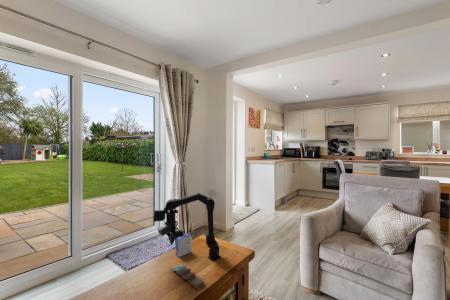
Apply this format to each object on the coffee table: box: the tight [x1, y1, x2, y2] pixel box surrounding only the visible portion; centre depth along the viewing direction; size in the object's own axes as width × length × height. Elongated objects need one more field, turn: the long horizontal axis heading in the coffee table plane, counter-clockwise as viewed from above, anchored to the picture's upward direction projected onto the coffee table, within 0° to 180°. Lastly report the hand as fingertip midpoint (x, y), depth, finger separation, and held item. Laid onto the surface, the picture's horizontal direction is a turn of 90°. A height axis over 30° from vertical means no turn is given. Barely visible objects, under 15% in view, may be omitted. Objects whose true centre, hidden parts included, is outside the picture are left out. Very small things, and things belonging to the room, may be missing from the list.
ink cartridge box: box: [174, 231, 192, 258], centre depth 150 cm, size 10×6×14 cm, turn 131°
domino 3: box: [180, 271, 196, 281], centre depth 120 cm, size 2×5×8 cm
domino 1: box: [171, 264, 187, 272], centre depth 128 cm, size 2×5×8 cm
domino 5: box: [188, 282, 207, 291], centre depth 115 cm, size 2×5×8 cm
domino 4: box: [187, 275, 205, 290], centre depth 115 cm, size 2×5×8 cm
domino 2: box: [175, 267, 192, 276], centre depth 124 cm, size 2×5×8 cm
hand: (171, 244), depth 138 cm, fingers closed
